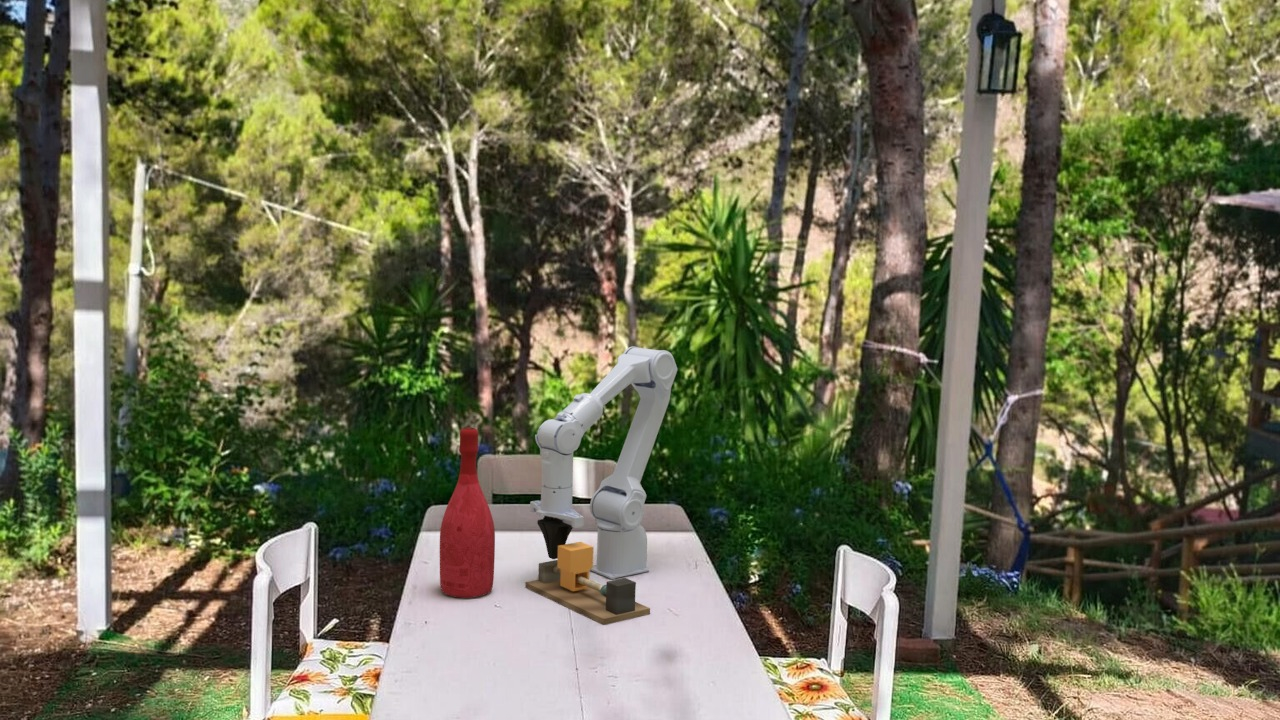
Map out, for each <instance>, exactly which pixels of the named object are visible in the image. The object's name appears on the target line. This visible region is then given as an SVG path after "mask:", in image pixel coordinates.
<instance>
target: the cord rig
mask: <svg viewBox="0 0 1280 720" xmlns="http://www.w3.org/2000/svg"><path fill="white" fill-rule="evenodd" d="M557 561H558V559H553V560H550V561H543V562H539V563H538V578H537V579H536V580H535V579H534V580H531V581H530V580H529V581H525V588H526V589H527V590H530V591H531V592H534V593H535V594H538V595H540V596H542V597H545V598H547V600H550V601H553V602H554V603H557V604H559V605H561V606H563V607H566V608H568V610H572V611H574V612H576V613H578V614H580V615H582V616H584V617H586V618H588V619H591V620H592V621H595V622H597V623H599V624H601V625H603V626H605V625H608V624H610V625H611V624H613V623H618V622H621V621H626V620H627V621H628V620H630V619H634V618H640V617H642V616H647V615H650V614H651V607H648V606H646V605H643V604H642V603H639V602H637V601H636V587H637V585H636V584H637V583H636V581H633V580H631V579H629V578H626V577H621V578H616V579H611V580H609V581H606V582H605V583H606V584H604V585H602V584H600V583H597V582H595V581H593V580H590V579H589V580H588V579H586V578H584V577H581V576H579V575H577V574H575V581H576V582H578V583H580V584H583V585H585V586H587V587H589V588H587V589H582V590H577V591H571V590H569V589H567V588H565V587H562V586H560V578H561V569H560V568H558V567H557Z"/></svg>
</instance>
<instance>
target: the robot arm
mask: <svg viewBox="0 0 1280 720" xmlns="http://www.w3.org/2000/svg"><path fill="white" fill-rule="evenodd" d="M675 360H676V359H674V356H673V354H672V353H671V352H670V351H668V350H665V349H663V350H662V349H661V350H658V349H652V348H651V349H650V348H646V347H640V346H639V347H638V346H629V347H628V348H626V349H625V350H624V352H623V353H622V354H619V355H618V357H617V362H616V364H615V366H614V367H612V369H611V370H610V371H609V372H608V373H607V375H606V376H605V377H603V379H602V380H600V382H599V383H598V384H597V385H596V387H594V388H593V390H591V392H590V393H588V392H587V393H586V392H582V393H580V394H575V396H574V397H573V398H572V401H571V402H570V403H569V404H568V405H567V406H566V407H565V408H564V409H563V410H561V411H559V412H558V413H557V414H556V416H555V418H552V419H551V418H550V419H547V420H545V421H544V422H543V423H542V424H541V425H540V426H539V428H538V430H537V434H534V435H535V436H534V439H535V442H536V444H537V446H538V448H539V456H540V457H541V477H540V478H541V480H540V481H541V482H540V484H541V485H540V486H541V487H540V489H541V491H540V500H539V499H538V500H532V501H530V502H529V503H530V506H529V512H531V513H535V515H537V516H539V517H543V518H542V519H541V518H540V519H538V520H537V521H536V522H537V523H536V524H537V525H538V527H539V529H540V532H541V533H542V535H543V539H544V542H545V547H546V551H547V556H548V558H550V559H552V560H558V546H559V545H565V544H567V540H568V538H569V536H570V533H571V532H572V530H573V529H577V528H583V527H584V519H585V518H584V516H583V515H581V514H580V513H578V512H577V511H576V510H575V509H574V508H573V481H574V480H573V479H574V478H573V475H574V452H575V451H577V450H578V448H579V447H580V444H581V441H582V438H583V437H584V434H585V433H586V432H587V431H588V430H589V429H590V428H591V427H592V426H593V425H594V424H596V422H597V421H598V420H600V418H602V416H603V414H604V406H606V404H608V403H609V402H611V400H612V399H614V398H615V397H616V396H618V395H619V394H620V393H621V392H622V391H623V390H624V389H626V388H627V387H628V386H629V385H631V386H632V387H633V389H634V390H635V391H636V392H637V393H638V396H639V398H640V400H639V402H638V405H637V408H636V411H635V414H634V416H633V418H632V421H631V423H630V426H629V427H630V428H629V429H628V432H627V435H626V437H625V440H624V444H623V446H622V449H621V452H620V455H619V457H618V460H617V463H616V466H615V468H614V471H613V473H612V474H610V475H609V476H607V477H605V478H604V479H602V481H600V485H599V487H598V489H597V490H596V491H595V492H594V493H593V495H592V497H591V499H590V503H589V512H590V514H591V516H592V518H594V519H595V525H597V536H596V537H597V538H596V539H597V543H596V545H597V548H596V564H593V569H589V571H591V572H594V573H596V574H599V575H601V576H603V577H606V578H608V579H611V580H614V579H619V578H624V577H627V576H632V575H636V574H641V573H646V572H649V571H650V570H649V568H648V567H647V561H648V560H647V559H648V558H647V557H648V535H647V533H646V532H647V531H646V529H645V528H644V527H643V526H642V525H641V524H640V523H641V522H642V520H643V517H644V513H645V501H646V499H647V494H646V491H645V490H644V488H643V487H642V484H641V481H642V479H643V476H644V472H645V471H646V468H647V464H648V462H649V459H650V456H651V453H652V451H653V449H654V448H653V447H654V445H655V443H656V440H657V437H658V436H657V435H658V433H659V431H660V428H661V426H662V423H663V419H664V417H665V414H666V412H667V408H668V406H669V404H670V400H671V391H672V386H673V384H674V381H675V378H676V375H677V372H678V367H677V364H676V361H675Z"/></svg>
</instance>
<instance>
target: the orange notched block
mask: <svg viewBox="0 0 1280 720" xmlns="http://www.w3.org/2000/svg"><path fill="white" fill-rule="evenodd" d="M557 560H558V561H557V567H558V568H560V569H561V578H560V586H562V587H565V588H567V589H569V590H571V591H577V590H582V589H587V588H589V587H587V586H585V585H583V584H580V583H578V582H576V581H575V574H577V575H579V576H581V577H584V578H586V579H588V580H590V570H589V569H593V565H594V546H592V545H590V544H587V543H585V542H581V541H577V542H572V543H566V544H565V545H559V546H558V558H557Z"/></svg>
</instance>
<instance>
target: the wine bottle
mask: <svg viewBox="0 0 1280 720" xmlns="http://www.w3.org/2000/svg"><path fill="white" fill-rule="evenodd" d="M458 452H459V454H460V455H461V456H460V467H459V469H460V470H459V475H458V480H457V482H456V486H455V488H454V490H453V492H452V495H451V497H450V499H449V501H448V504H447V506H446V509H445V511H444V514H443V516H442V521H441V524H440V531H439V585H440V590H441V591H442V593H444V594H445V595H447V596H450V597H455V598H461V599H463V598H464V599H465V598H466V599H467V598H477V597H478V598H479V597H482V596H484V595H487V594H488V593H490V592H491V590H493V587H494V577H495V559H496V558H495V553H496V550H495V548H496V534H495V532H496V531H495V524H494V519H493V515H492V512H491V509H490V507H489V503H488V502H487V499H486V497H485V493H483V492H484V491H483V490H482V487H481V484H480V481H479V476H478V470H477V454H478V452H479V430H478V429H477V428H474V427H463V428H461V429H460V432H459V448H458Z"/></svg>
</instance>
